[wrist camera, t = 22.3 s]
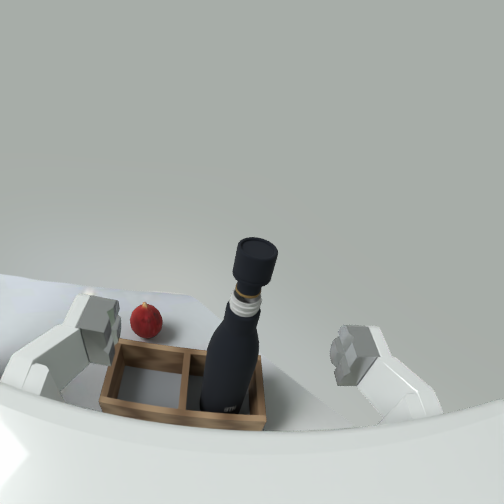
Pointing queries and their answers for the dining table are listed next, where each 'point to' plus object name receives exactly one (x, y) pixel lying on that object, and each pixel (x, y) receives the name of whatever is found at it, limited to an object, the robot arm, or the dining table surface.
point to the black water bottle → (238, 331)
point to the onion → (146, 321)
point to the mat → (163, 389)
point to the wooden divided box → (186, 365)
